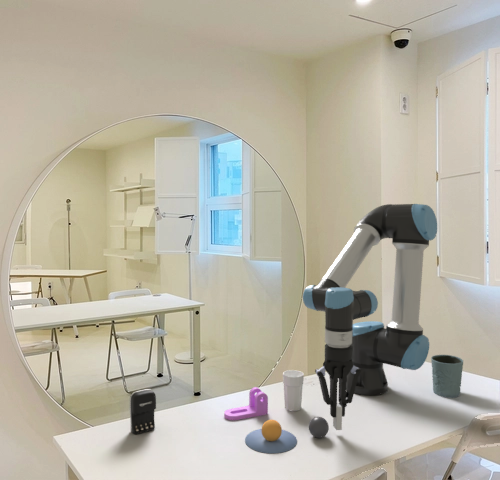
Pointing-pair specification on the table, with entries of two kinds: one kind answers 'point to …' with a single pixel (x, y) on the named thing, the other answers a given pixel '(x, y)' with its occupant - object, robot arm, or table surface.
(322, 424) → the gray ball
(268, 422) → the object ball
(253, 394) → the bracket
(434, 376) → the teal tapered pot
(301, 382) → the cup
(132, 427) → the battery charger
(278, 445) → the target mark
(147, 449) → the table surface
